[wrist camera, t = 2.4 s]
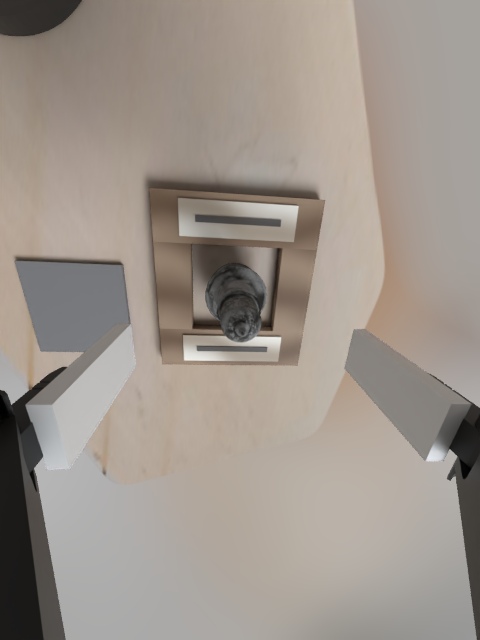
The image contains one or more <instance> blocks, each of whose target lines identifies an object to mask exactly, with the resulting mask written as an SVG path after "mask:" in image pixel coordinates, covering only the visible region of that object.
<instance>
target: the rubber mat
mask: <svg viewBox="0 0 480 640" xmlns="http://www.w3.org/2000/svg"><path fill="white" fill-rule="evenodd" d="M15 264H16V267H17V271H18V274H19V278H20V281H21V285H22V288H23V292H24V295H25V299H26V302H27V305H28V309H29V312H30V316H31V319H32V323H33V326H34V330H35V333H36V337H37V340H38V344H39V347H40V351H47V352H85V351H86V350H88V349H89V348H90V347H91V346H92V345H93V344H94V343H95V342H97V341H98V340H99V339H100V338H101V337H102V336H103V335H104V334H106V333H107V332H108V331H109V330H110V329H111V328H112V327H114V326H115V325H116V324H117V323H120V324H130V317H129V309H128V301H127V292H126V284H125V276H124V268H123V265H117V264H94V263H71V262H48V261H25V260H16V261H15Z"/></svg>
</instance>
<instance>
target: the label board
mask: <svg viewBox="0 0 480 640" xmlns="http://www.w3.org/2000/svg"><path fill="white" fill-rule="evenodd" d="M149 194H150V207H151V221H152V234H153V247H154V260H155V273H156V286H157V300H158V313H159V326H160V339H161V352H162V364H193V365H290V366H298V360H299V354H300V348H301V342H302V336H303V330H304V324H305V318H306V312H307V306H308V300H309V294H310V288H311V282H312V276H313V270H314V264H315V258H316V252H317V246H318V240H319V234H320V228H321V222H322V216H323V210H324V204H325V200H316V199H302V198H287V197H273V196H259V195H244V194H230V193H216V192H201V191H187V190H173V189H158V188H149ZM192 244H208V245H228V246H247V247H267V248H280V251H279V260H278V268H277V277H276V286H275V295H274V304H273V313H272V322H271V327H261V329H260V331H259V333H258V334H257V336H256V337H255V338H253V339H252V340H250V341H248V342H243V343H238V342H234V341H231V340H230V339H228V338H227V337H226V336H225V335H224V333H223V331H222V329H221V326H213V325H194V322H193V268H192Z"/></svg>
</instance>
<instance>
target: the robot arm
mask: <svg viewBox="0 0 480 640" xmlns="http://www.w3.org/2000/svg"><path fill="white" fill-rule="evenodd" d="M80 2H81V0H0V34H3V35H9V36H29V35H35V34H39V33H42V32H45V31H48V30H50V29H52V28H54V27H55V26H57V25H59V24H60V23H62V22H63V21H64V20H65V19H66V18H68V17H69V16H70V15H71V14H72V12H73V11H74V10H75V9H76V8H77V6H78V5H79V3H80ZM135 367H136V362H135V353H134V345H133V336H132V328H131V324H120V323H117V324H116V325H115V326H114V327H112V328H111V329H110V330H109V331H108V332H107V333H106V334H104V335H103V336H102V337H101V338H100V339H99V340H98V341H97V342H95V343H94V344H93V345H92V346H91V347H90V348H89V349H88V350H86V351H85V352H84V353H83V354H82V355H81V356H80V357H79V358H77V359H76V360H75V361H74V362H73V363H72V364H71V365H70V366H68V367H61V368H59V369H57V370H55V371H53V372H52V373H50V374H48V375H47V376H46V377H45V378H44V379H42V380H41V381H40V383H37V384H36V385H35V386H34V387H33V388H32V390H29V391H28V392H27V393H25V395H23V396H22V397H21V398H20V399H18V400H17V401H16V402H15V403H13V404H12V405H11V403H10V400H9V397H8V395H7V393H6V392H5V391H1V390H0V640H65V633H64V628H63V622H62V617H61V612H60V605H59V600H58V594H57V589H56V583H55V578H54V572H53V566H52V562H51V555H50V550H49V544H48V539H47V533H46V528H45V522H44V517H43V511H42V505H41V500H40V494H39V488H38V483H37V477H36V473H35V471H34V467H35V466H36V465H37V464H38V462H39V461H40V460H41V459H42V457H43V460H44V463H45V466H46V469H47V470H64V469H71V467H72V466H73V464H74V463H75V461H76V459H77V458H78V456H79V455H80V453H81V452H82V450H83V448H84V447H85V445H86V444H87V442H88V441H89V439H90V437H91V436H92V434H93V433H94V431H95V430H96V428H97V426H98V425H99V423H100V422H101V420H102V419H103V417H104V416H105V414H106V412H107V411H108V409H109V408H110V406H111V405H112V403H113V401H114V400H115V398H116V397H117V395H118V394H119V392H120V390H121V389H122V387H123V386H124V384H125V383H126V381H127V379H128V378H129V376H130V375H131V373H132V372H133V370H134V368H135ZM345 370H346V371H347V372H348V373H349V374H350V375H351V376H352V378H353V379H354V380H355V381H356V382H357V383H358V384H359V386H360V387H361V388H362V389H363V390H364V391H365V392H366V394H367V395H368V396H369V397H370V398H371V399H372V401H373V402H374V403H375V404H376V405H377V406H378V407H379V409H380V410H381V411H382V412H383V413H384V414H385V415H386V417H387V418H388V419H389V420H390V421H391V422H392V424H393V425H394V426H395V427H396V428H397V429H398V430H399V432H400V433H401V434H402V435H403V436H404V437H405V438H406V440H407V441H408V442H409V443H410V444H411V445H412V447H413V448H414V449H415V450H416V451H417V452H418V453H419V455H420V456H421V457H422V458H423V459H424V460H425V461H444V459H445V457H446V455H447V453H448V451H449V449H451V450H452V451H453V452H454V453H455V454H456V455H457V456H458V457H457V459H456V461H455V463H454V465H453V467H452V469H451V470H450V473H449V474H448V477H447V479H448V480H451V479H452V477H454V476H456V483H457V490H458V497H459V505H460V513H461V520H462V527H463V536H464V543H465V551H466V558H467V565H468V574H469V581H470V589H471V597H472V605H473V613H474V620H475V628H476V636H477V640H480V408H479V407H478V406H476V405H475V404H473V403H472V402H470V401H469V400H467V399H466V398H465V397H463V396H462V395H460V394H459V393H457V392H456V391H454V390H452V388H450V387H449V386H447V385H446V384H444V383H443V382H442V381H440V380H439V379H437V378H436V377H434V376H432V375H431V374H429V373H427V372H425V371H424V370H422V369H421V368H420V367H418V366H417V365H416V364H414V363H412V362H411V361H410V360H408V359H407V358H405V357H404V356H403V355H401V354H400V353H398V352H397V351H396V350H394V349H393V348H391V347H390V346H389V345H387V344H386V343H384V342H383V341H381V340H380V339H379V338H377V337H376V336H374V335H373V334H371V333H370V332H369V331H367V330H364V329H354V331H353V335H352V339H351V343H350V347H349V352H348V356H347V360H346V364H345Z"/></svg>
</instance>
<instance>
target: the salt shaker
mask: <svg viewBox="0 0 480 640" xmlns="http://www.w3.org/2000/svg"><path fill="white" fill-rule="evenodd" d="M266 297H267V293H266V287H265V285H264V282H263V280H262V279H261V278H260V277H259V275H258V274H257V273H255V272H254V271H252V270H251V269H249V268H248V267H246V266H244V265H241V264H234V263H233V264H228V265H225V266H223V267H221V268H220V269H219V270H218V271H216V273H215V274H214V276H213V277H212V278H211V280H210V281H209V283H208V285H207V288H206V295H205V300H206V304H207V307H208V309H209V311H210V312H211V314H212V315H213V316H214V317H215V318H216V319H217V320H219V321H220V323H221V329H222V331H223V333H224V335H225V336H226V337H227V338H228V339H230V340H231V341H234V342H238V343H243V342H248V341H250V340H252V339H253V338H255V337H256V336H257V334H258V333H259V331H260V329H261V317H260V314H261V312H262V310H263V308H264V306H265V304H266Z"/></svg>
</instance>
